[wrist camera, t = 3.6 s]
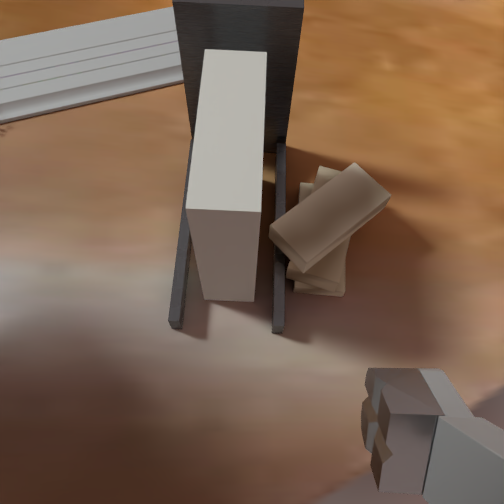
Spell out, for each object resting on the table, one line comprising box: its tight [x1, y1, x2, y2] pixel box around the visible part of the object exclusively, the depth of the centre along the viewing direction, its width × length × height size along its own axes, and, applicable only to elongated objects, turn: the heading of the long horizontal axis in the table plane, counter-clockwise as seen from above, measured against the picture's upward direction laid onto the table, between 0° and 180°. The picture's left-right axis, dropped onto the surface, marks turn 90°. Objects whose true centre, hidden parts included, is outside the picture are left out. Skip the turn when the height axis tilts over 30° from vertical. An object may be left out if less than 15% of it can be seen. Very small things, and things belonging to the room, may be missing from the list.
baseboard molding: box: [0, 7, 184, 124], centre depth 48 cm, size 31×3×12 cm
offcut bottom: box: [293, 183, 345, 297], centre depth 39 cm, size 4×10×2 cm, turn 175°
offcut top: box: [269, 162, 391, 273], centre depth 35 cm, size 4×9×2 cm, turn 130°
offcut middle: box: [286, 166, 351, 292], centre depth 37 cm, size 4×10×2 cm, turn 162°
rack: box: [168, 0, 304, 333], centre depth 33 cm, size 9×18×15 cm, turn 178°
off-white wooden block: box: [185, 49, 267, 302], centre depth 33 cm, size 4×12×14 cm, turn 178°
